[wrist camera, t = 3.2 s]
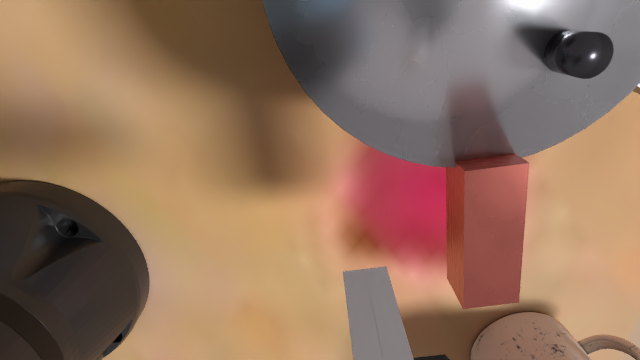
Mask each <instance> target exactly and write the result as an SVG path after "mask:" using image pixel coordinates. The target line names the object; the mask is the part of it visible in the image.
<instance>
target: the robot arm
mask: <svg viewBox="0 0 640 360" xmlns="http://www.w3.org/2000/svg"><path fill="white" fill-rule="evenodd" d="M343 277H344V285H345V293H346V302H347V310H348V318H349V326H350V334H351V342H352V351H353V359H354V360H450V359H449V358H448V357H447V356H446V355H436V356H427V357H419V358H413V355H412V352H411V349H410V345H409V342H408V339H407V335H406V332H405V328H404V325H403V322H402V318H401V315H400V312H399V308H398V305H397V301H396V298H395V295H394V291H393V288H392V284H391V281H390V278H389V274H388V271H387V268H386V267H378V268H370V269H361V270H353V271H345V272H343ZM148 293H149V272H148V268H147V264H146V260H145V258H144V255H143V253H142V251H141V249H140V247H139V245H138V243H137V242H136V240H135V239H134V237H133V236H132V234H131V233H130V232H129V231H128V229H127V228H126V227H125V226H124V225H123V224H122V223H121V222H120V221H119V220H118V219H117V218H116V217H115V216H114V215H113V214H111V213H110V212H109V211H108V210H106V209H105V208H104V207H102V206H101V205H99V204H98V203H96V202H94V201H93V200H91V199H89V198H87V197H85V196H83V195H81V194H79V193H77V192H74V191H72V190H69V189H66V188H63V187H60V186H56V185H52V184H47V183H42V182H33V181H12V182H4V183H0V360H102V359H103V358H104V357H105V356H107V355H108V354H110V353H111V352H112V351H113V350H114V349H116V348H117V347H118V346H119V345H120V344H121V343H122V342H123V341H124V340H125V338H126V337H127V336H128V335H129V333H130V332H131V330H132V329H133V327H134V325H135V324H136V322H137V320H138V318H139V316H140V315H141V313H142V311H143V309H144V307H145V304H146V302H147V298H148Z"/></svg>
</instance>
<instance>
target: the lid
mask: <svg viewBox="0 0 640 360" xmlns="http://www.w3.org/2000/svg"><path fill="white" fill-rule="evenodd" d="M263 5H264V9H265V13H266V16H267V18H268V21H269V24H270V27H271V30H272V32H273V35H274V38H275V41H276V43H277V45H278V47H279V49H280V51H281V53H282V55H283V57H284V59H285V61H286V63H287V65H288V67H289V69H290V70H291V72H292V73H293V75H294V76H295V78H296V79H297V80H298V82H299V83H300V85H301V86H302V88H303V89H304V91H305V92H306V93H307V94H308V96H309V97H310V98H311V99H312V100H313V101H314V102H315V104H316V105H317V106H318V107H319V108H320V109H321V110H322V111H323V113H325V114H326V115H327V116H328V117H329V118H330V119H332V120H333V121H334V122H335V123H336V124H337V125H338V126H340V127H341V128H342V129H343V130H345V131H346V132H348V133H349V134H351V135H352V136H354V137H355V138H357V139H358V140H360V141H361V142H363V143H364V144H366V145H369V146H371V147H373V148H375V149H377V150H379V151H381V152H383V153H385V154H387V155H391V156H394V157H397V158H400V159H403V160H406V161H409V162H413V163H419V164H424V165H430V166H436V167H446V206H447V279H448V281H449V283H450V284H451V286H452V288H453V290H454V292H455V294H456V296H457V298H458V300H459V302H460V304H461V306H462V307H463V309H467V308H476V307H484V306H492V305H501V304H509V303H517V302H519V293H520V280H521V266H522V253H523V239H524V226H525V213H526V199H527V186H528V172H529V163H528V162H527V161H525V160H524V159H522V157H525V156H529V155H532V154H535V153H538V152H540V151H542V150H544V149H547V148H549V147H551V146H554V145H556V144H558V143H560V142H562V141H564V140H566V139H567V138H569V137H571V136H573V135H575V134H576V133H578V132H580V131H582V130H583V129H585V128H586V127H588V126H589V125H591V124H592V123H594V122H595V121H596V120H598V119H599V118H601V117H602V116H603V115H605V114H606V113H608V112H609V111H610V110H611V109H612V108H614V107H615V106H616V105H617V104H618V103H619V102H620V101H622V100H623V99H624V98H625V97H626V96H627V95H628V94H630V93H631V92H632V91H633V90H634V89H635V88H636V87H637V86H638V84H639V83H640V0H263Z"/></svg>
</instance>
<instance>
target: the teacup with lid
mask: <svg viewBox="0 0 640 360" xmlns="http://www.w3.org/2000/svg"><path fill="white" fill-rule="evenodd" d="M601 349H615V350H619V351H622V352H624V353H627V354H629V355H631V356H632V357H633V358H635V359H636V360H640V349H639V348H638V347H637V346H636V345H634V344H633V343H631V342H629V341H627V340H625V339H622V338H620V337H616V336H612V335H595V336H591V337H588V338H585V339H583V340H581V341H579V342H577V341H576V340H575V339H574V338H573V336H572V335H571V334H570V333H569V331H568V330H567V329H566V328H565V327H564V325H563V324H562V323H560V322H559V321H558V320H557V319H555V318H553V317H551V316H549V315H546V314H542V313H536V312H522V313H516V314H512V315H508V316H505V317H503V318H501V319H499V320H497V321H495V322H493V323H492V324H490V325H489V326H488V327H487V328H485V329H484V330H483V331H482V332H481V333H480V335H479V336H478V337H477V339H476V341H475V342H474V344H473V347H472V350H471V360H591V358H590V357H589V356H588V354H590V353H592V352H594V351H597V350H601Z"/></svg>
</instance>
